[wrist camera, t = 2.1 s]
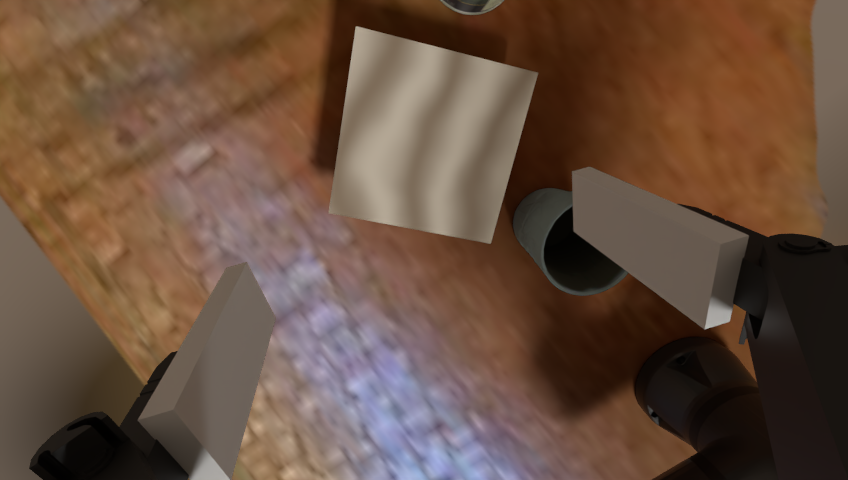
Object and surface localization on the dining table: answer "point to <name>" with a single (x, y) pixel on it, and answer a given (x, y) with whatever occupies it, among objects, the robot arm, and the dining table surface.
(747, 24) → the dining table surface
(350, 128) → the stand
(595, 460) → the dining table surface
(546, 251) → the grey green cup
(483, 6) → the coffee can
